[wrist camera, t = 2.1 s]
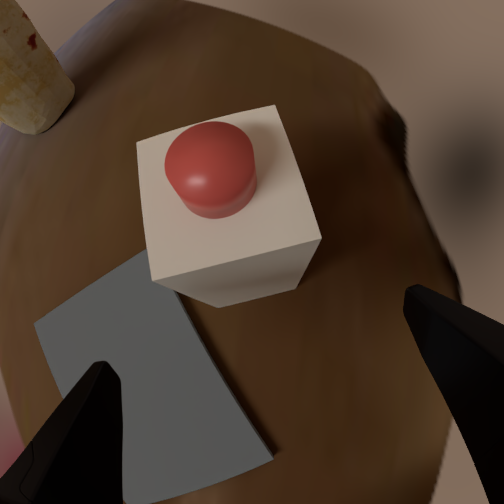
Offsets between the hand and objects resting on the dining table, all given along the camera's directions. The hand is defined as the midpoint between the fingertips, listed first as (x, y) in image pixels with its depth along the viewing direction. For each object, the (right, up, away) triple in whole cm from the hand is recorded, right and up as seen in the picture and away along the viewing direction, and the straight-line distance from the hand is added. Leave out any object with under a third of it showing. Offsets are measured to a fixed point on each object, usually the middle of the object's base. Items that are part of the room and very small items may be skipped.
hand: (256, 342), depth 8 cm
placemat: (-8, -7, +10) cm, 14 cm away
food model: (-22, +17, +17) cm, 33 cm away
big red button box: (0, +2, +12) cm, 12 cm away
